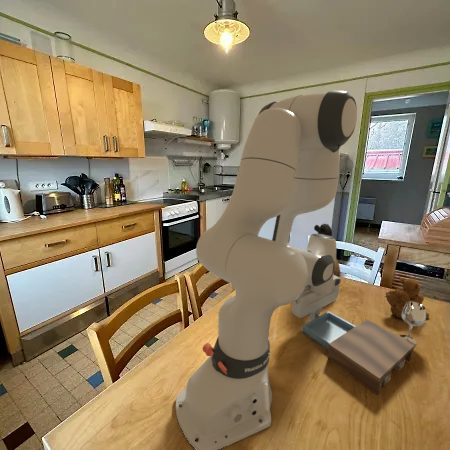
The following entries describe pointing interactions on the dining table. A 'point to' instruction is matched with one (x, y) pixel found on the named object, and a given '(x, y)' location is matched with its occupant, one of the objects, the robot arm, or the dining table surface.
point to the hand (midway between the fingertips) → (313, 318)
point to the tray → (326, 328)
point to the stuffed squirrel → (405, 296)
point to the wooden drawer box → (370, 354)
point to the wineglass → (413, 317)
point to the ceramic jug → (326, 230)
